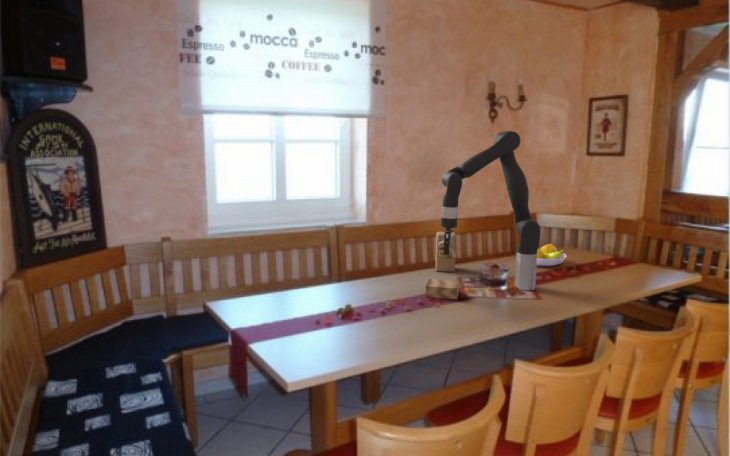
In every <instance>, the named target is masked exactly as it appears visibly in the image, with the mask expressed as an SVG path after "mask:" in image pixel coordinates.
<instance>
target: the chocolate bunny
mask: <svg viewBox="0 0 730 456" xmlns="http://www.w3.org/2000/svg"><path fill="white" fill-rule="evenodd" d="M451 242H452V240H451ZM451 242H450V243H451ZM446 243H448V241H446ZM444 247H445V246H444V240H443V241H441V242H439V244H438V248H439V253H440V255H439V257H442V258H455V259H456V258H457V254H455V252H454V250H453V249H451V248H449V255H445V254H444Z"/></svg>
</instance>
